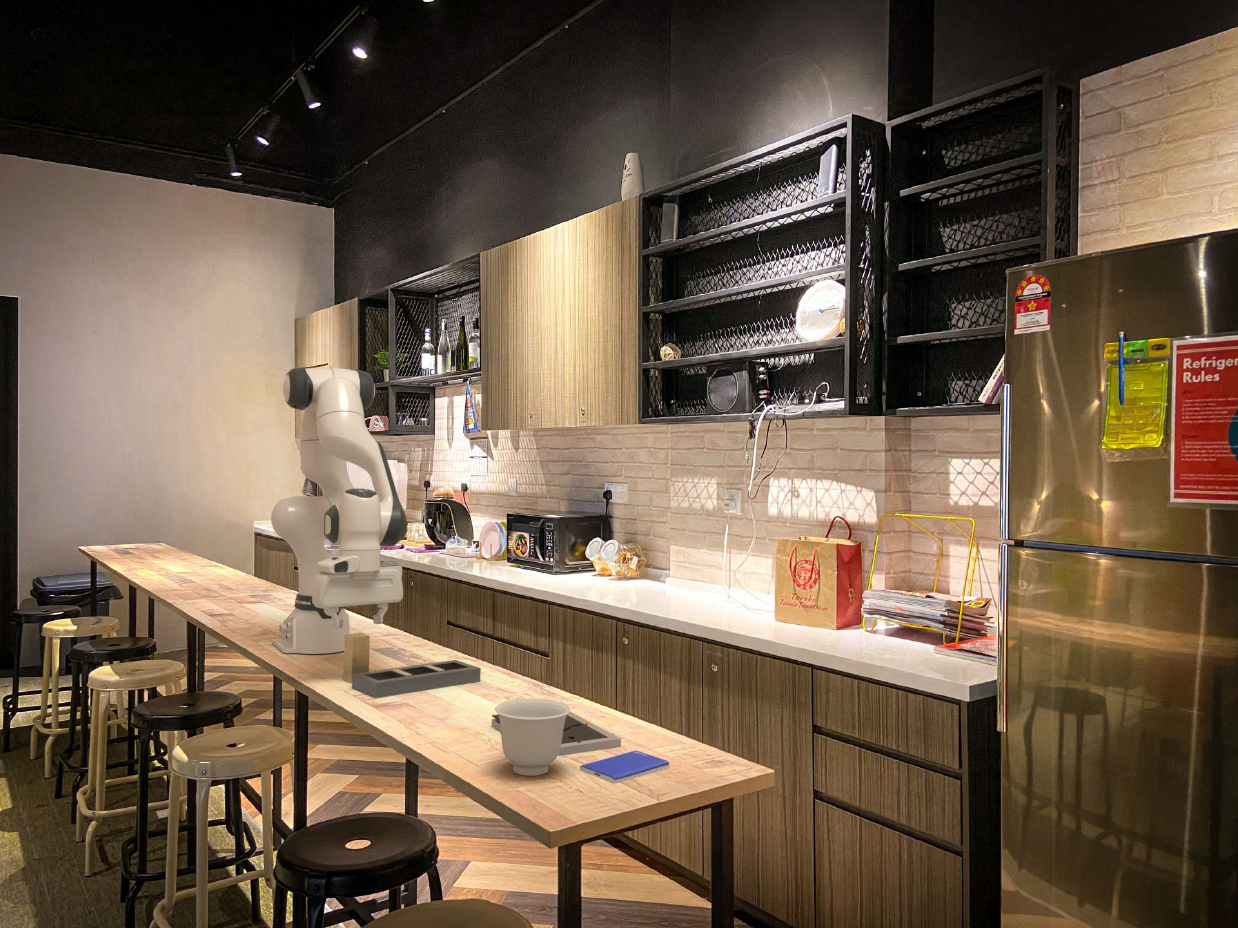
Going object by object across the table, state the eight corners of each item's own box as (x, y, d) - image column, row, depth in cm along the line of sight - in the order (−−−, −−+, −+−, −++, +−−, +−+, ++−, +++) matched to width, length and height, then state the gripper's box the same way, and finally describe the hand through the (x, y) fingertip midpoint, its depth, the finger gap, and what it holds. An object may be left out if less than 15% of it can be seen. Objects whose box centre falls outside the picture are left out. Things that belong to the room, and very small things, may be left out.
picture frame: (491, 730, 173) (539, 762, 155) (491, 714, 173) (539, 745, 155) (567, 720, 181) (620, 750, 163) (567, 705, 181) (621, 734, 163)
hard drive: (634, 749, 159) (579, 764, 150) (669, 760, 153) (615, 777, 144) (634, 758, 159) (579, 773, 150) (669, 770, 153) (614, 787, 144)
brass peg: (343, 679, 206) (344, 634, 206) (360, 677, 208) (361, 632, 208) (351, 683, 203) (353, 637, 203) (368, 681, 205) (369, 635, 206)
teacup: (550, 750, 160) (552, 692, 160) (578, 778, 146) (580, 714, 146) (481, 756, 155) (483, 696, 155) (503, 786, 141) (505, 720, 141)
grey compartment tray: (351, 687, 199) (352, 672, 199) (454, 672, 216) (455, 658, 216) (375, 697, 191) (375, 682, 191) (480, 681, 208) (480, 666, 208)
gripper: (395, 559, 215) (393, 619, 214) (309, 563, 201) (308, 628, 201) (409, 561, 210) (407, 623, 210) (322, 565, 196) (320, 631, 196)
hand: (358, 625), depth 205 cm, fingers open, 8 cm apart
